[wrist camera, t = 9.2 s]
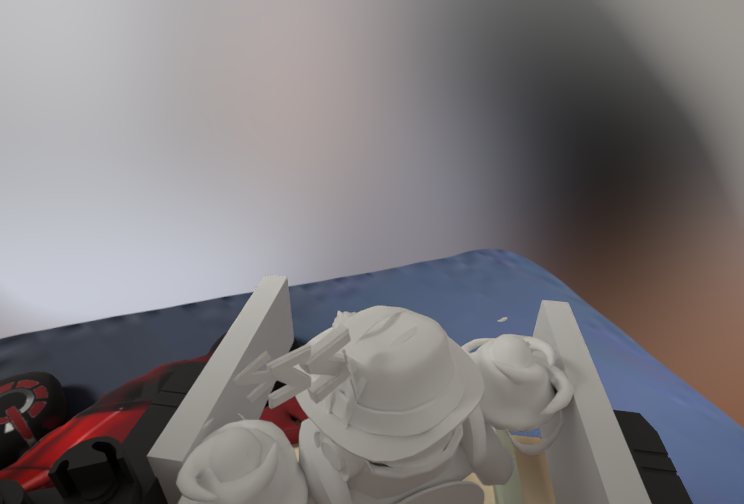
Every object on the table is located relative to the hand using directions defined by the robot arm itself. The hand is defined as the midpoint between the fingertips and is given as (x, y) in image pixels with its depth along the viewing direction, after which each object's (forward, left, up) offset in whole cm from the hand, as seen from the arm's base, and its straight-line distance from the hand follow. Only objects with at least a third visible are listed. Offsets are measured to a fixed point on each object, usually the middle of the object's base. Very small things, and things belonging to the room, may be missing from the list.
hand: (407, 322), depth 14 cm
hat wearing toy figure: (0, -5, -7) cm, 9 cm away
